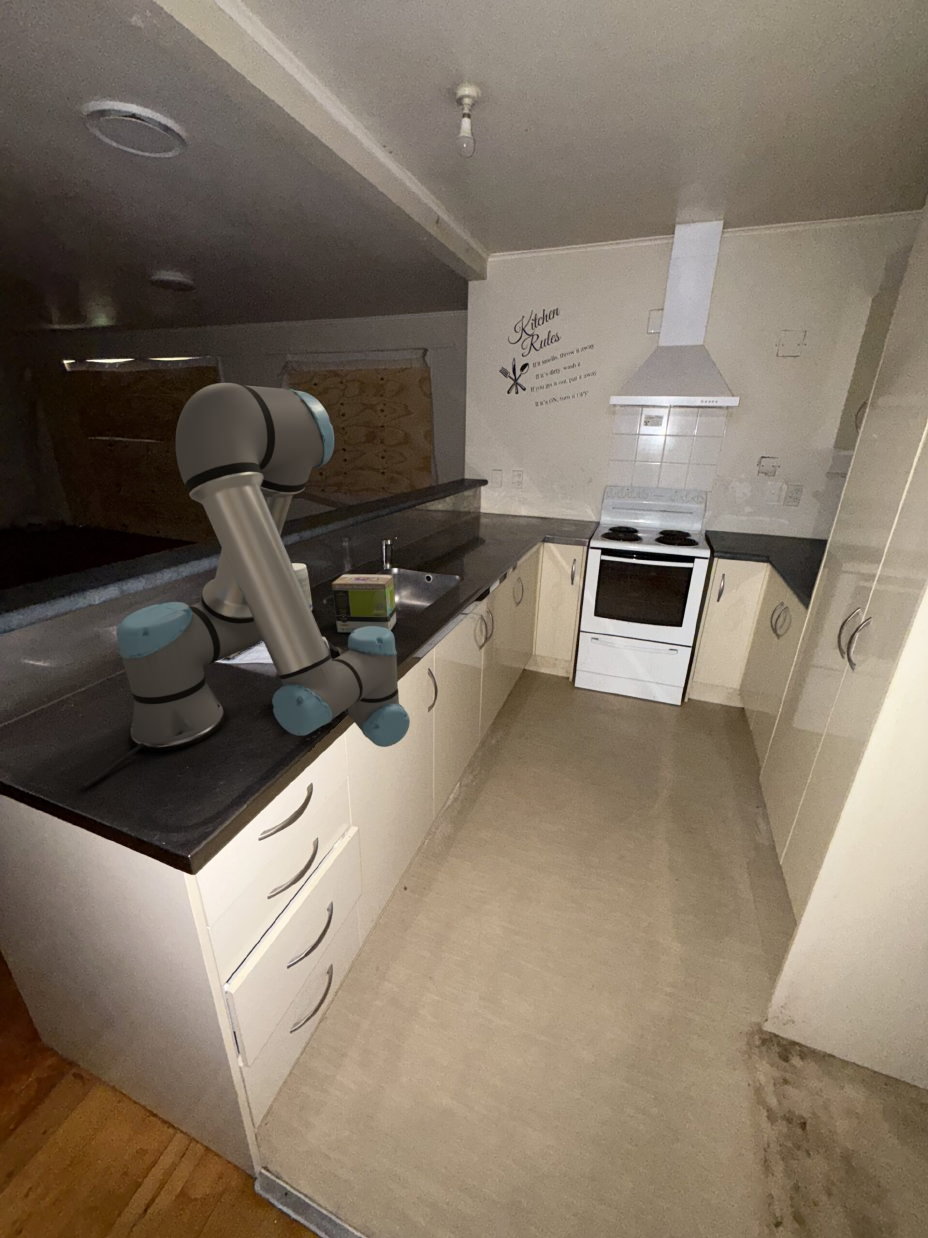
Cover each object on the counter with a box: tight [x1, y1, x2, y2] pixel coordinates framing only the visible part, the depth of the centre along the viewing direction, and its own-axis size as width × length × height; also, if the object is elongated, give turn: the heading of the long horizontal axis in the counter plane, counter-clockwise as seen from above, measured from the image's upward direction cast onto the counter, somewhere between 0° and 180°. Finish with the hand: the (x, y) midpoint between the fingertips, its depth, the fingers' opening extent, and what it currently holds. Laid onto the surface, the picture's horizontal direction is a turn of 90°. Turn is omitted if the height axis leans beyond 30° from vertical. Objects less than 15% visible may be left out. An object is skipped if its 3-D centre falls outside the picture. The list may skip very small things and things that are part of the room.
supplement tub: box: [291, 562, 314, 612], centre depth 149 cm, size 10×10×15 cm
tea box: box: [331, 573, 397, 633], centre depth 137 cm, size 15×10×15 cm, turn 84°
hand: (314, 649), depth 109 cm, fingers closed on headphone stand, 5 cm apart
